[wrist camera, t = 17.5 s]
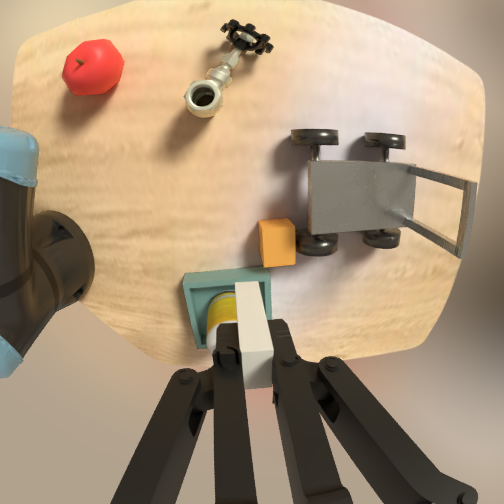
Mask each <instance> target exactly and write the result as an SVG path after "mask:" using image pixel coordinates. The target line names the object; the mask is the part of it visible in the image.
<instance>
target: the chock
mask: <svg viewBox="0 0 504 504" xmlns="http://www.w3.org/2000/svg"><path fill="white" fill-rule="evenodd" d="M258 223H259V241H260V256H261V259H262V262H263V265H264V268H266V267H275V266H285V265H295V226H294V225H293V223H292V222H291V221H290V220H289V219H288V218H284V219H271V220H259V221H258Z"/></svg>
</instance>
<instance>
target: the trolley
mask: <svg viewBox="0 0 504 504" xmlns="http://www.w3.org/2000/svg"><path fill="white" fill-rule="evenodd" d="M291 138H292V145H311V155H312V160H311V161H308V203H309V228H306V229H302V230H299V231H297V232H296V233H295V250H296V251H297V252H298V253H300V254H303V255H307V256H327V255H331V254H333V253H335V252H336V251H337V242H338V235H337V232H349V231H361V230H363V234H362V241H363V242H364V243H365V244H367V245H369V246H371V247H375V248H381V249H392V248H396V247H398V246H399V242H400V234H401V231H400V230H399V229H398V228H400V227H408V228H410V229H412V230H414V231H415V232H417V233H419V234H421V235H422V236H424V237H426V238H427V239H429V240H431V241H432V242H434V243H435V244H437V245H439V246H440V247H442V248H443V249H445V250H447V251H448V252H450V253H451V254H453V255H454V256H456V257H457V258H459V259H463V258H466V255H467V250H468V245H469V240H470V235H471V229H472V223H473V216H474V209H475V201H476V192H477V182H473V181H470V180H467V179H464V178H460V177H457V176H453V175H449V174H446V173H442V172H438V171H434V170H430V169H426V168H422V167H417V166H416V164H411V163H399V162H389V148H394V149H406V142H405V136H403V135H396V134H386V133H365V146H371V147H382V162H381V161H348V160H320V146H319V145H339V142H338V130H331V129H297V130H291ZM416 176H419V177H423V178H426V179H430V180H433V181H436V182H440V183H443V184H446V185H449V186H452V187H455V188H458V189H461V190H464V192H463V202H462V210H461V218H460V224H459V231H458V237H457V242H456V241H454V240H452V239H450V238H449V237H447V236H445V235H443V234H441V233H440V232H438V231H436V230H434V229H432V228H431V227H429V226H427V225H425V224H423V223H421V222H419V221H417V220H415V219H413V212H414V200H415V186H416Z"/></svg>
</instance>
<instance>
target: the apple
mask: <svg viewBox="0 0 504 504" xmlns="http://www.w3.org/2000/svg"><path fill="white" fill-rule="evenodd" d="M123 66H124V60H123V58H122V56H121V54H120V53H119V52H118V50H117V49H116V48H115V46H114V45H113V44H112V42H111V41H110V40H106V39H100V40H91V41H85V42H83V43H81V44H80V45H79V46H78V47H77V48H75V49H74V50H73V51H72V52H71V53H70V54H69V55H68V56H67V58H66V62H65V65H64V69H63V73H62V79H63V80H64V82H65V83H66V85H67V87H68V88H69V90H70V91H71V92H72V93H73V94H74V95H76V96H78V95H96V94H105V93H106V92H107V91H108V90H109V89H110V88H111V87H113V86H114V85H115V84H116V83H117V82H118V81H120V77H121V73H122V69H123Z"/></svg>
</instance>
